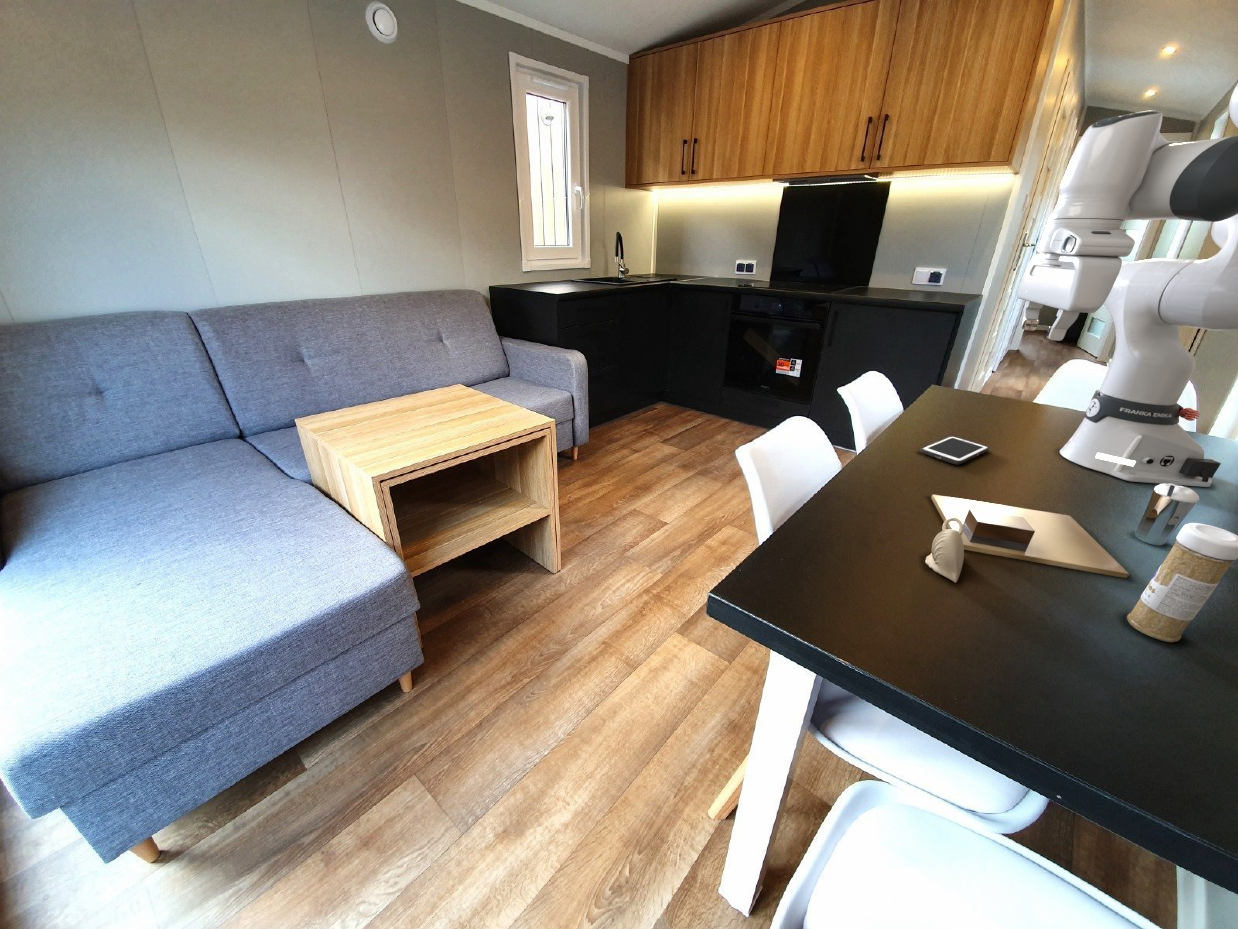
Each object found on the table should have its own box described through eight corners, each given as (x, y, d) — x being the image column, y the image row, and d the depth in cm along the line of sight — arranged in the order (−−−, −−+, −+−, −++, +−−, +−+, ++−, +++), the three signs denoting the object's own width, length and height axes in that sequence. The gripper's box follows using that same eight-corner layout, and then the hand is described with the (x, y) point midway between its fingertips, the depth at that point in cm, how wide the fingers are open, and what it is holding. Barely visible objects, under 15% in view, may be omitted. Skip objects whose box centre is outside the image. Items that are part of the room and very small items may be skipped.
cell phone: (918, 452, 103) (919, 448, 102) (950, 439, 111) (952, 435, 110) (957, 466, 97) (959, 461, 97) (989, 451, 105) (990, 446, 104)
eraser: (1014, 537, 73) (1023, 517, 71) (1025, 552, 69) (1035, 531, 68) (961, 528, 75) (969, 508, 73) (969, 542, 71) (977, 521, 70)
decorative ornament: (920, 570, 66) (932, 537, 64) (933, 544, 72) (944, 513, 69) (955, 584, 64) (969, 550, 61) (965, 556, 69) (978, 524, 67)
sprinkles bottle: (1125, 610, 60) (1183, 516, 54) (1178, 630, 57) (1245, 533, 51) (1125, 629, 57) (1186, 532, 51) (1181, 651, 54) (1252, 550, 48)
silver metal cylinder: (1119, 536, 76) (1151, 478, 71) (1137, 529, 78) (1170, 473, 73) (1158, 552, 72) (1194, 492, 68) (1176, 544, 74) (1212, 486, 70)
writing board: (1067, 519, 80) (1070, 515, 79) (1126, 578, 66) (1129, 573, 65) (930, 498, 85) (932, 494, 84) (958, 548, 71) (960, 544, 71)
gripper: (1023, 240, 84) (994, 323, 90) (1086, 240, 66) (1044, 344, 72) (1067, 242, 82) (1034, 326, 88) (1143, 242, 64) (1096, 348, 70)
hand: (1039, 334), depth 80 cm, fingers open, 8 cm apart
